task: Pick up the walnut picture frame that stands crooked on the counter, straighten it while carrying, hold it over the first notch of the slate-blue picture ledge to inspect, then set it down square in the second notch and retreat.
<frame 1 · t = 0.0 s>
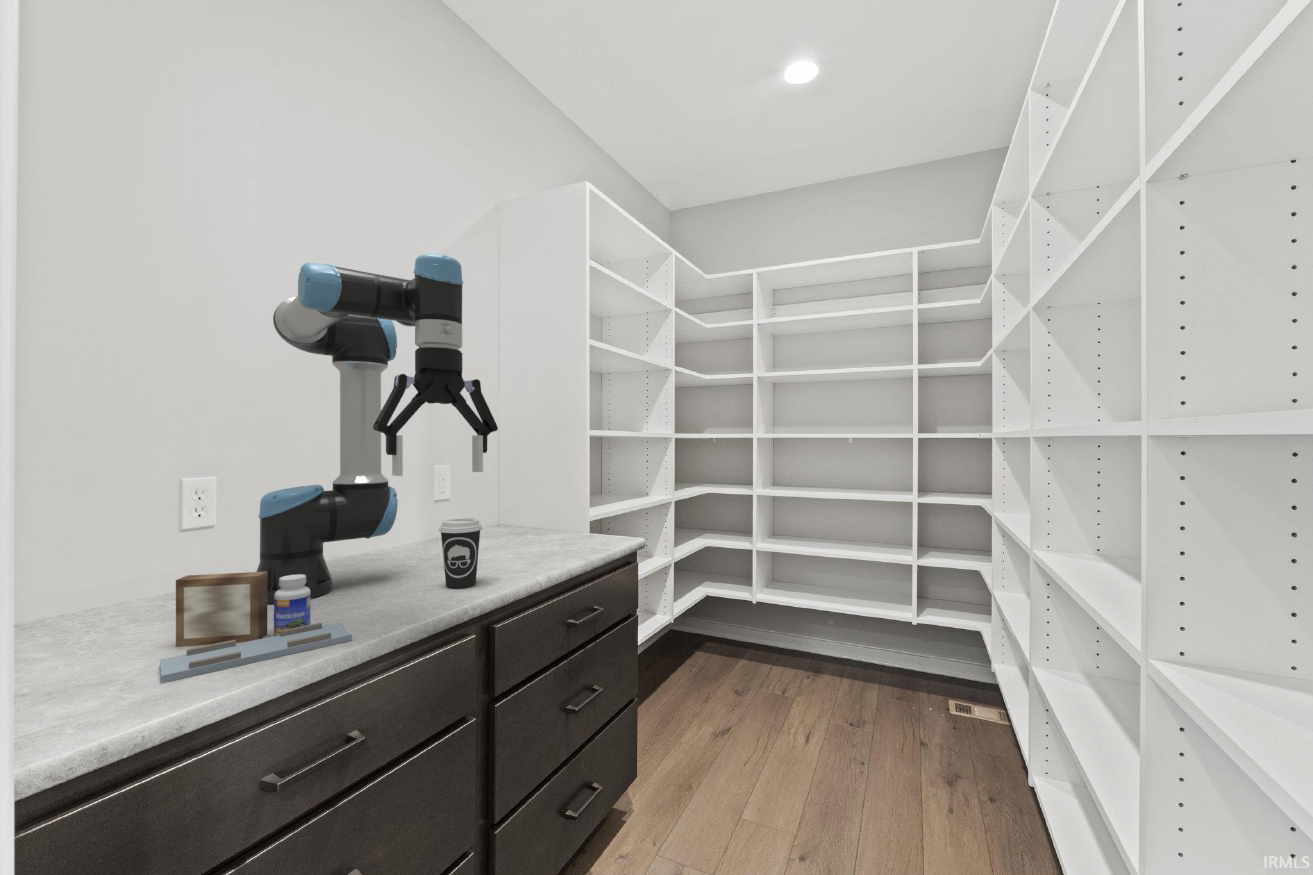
hand: (439, 473, 95), 28 cm above the countertop, fingers open, 13 cm apart
pill bottle: (292, 633, 98), on the countertop
ledge: (261, 652, 89), on the countertop
coffee cup: (461, 586, 129), on the countertop
frame: (223, 640, 94), on the countertop
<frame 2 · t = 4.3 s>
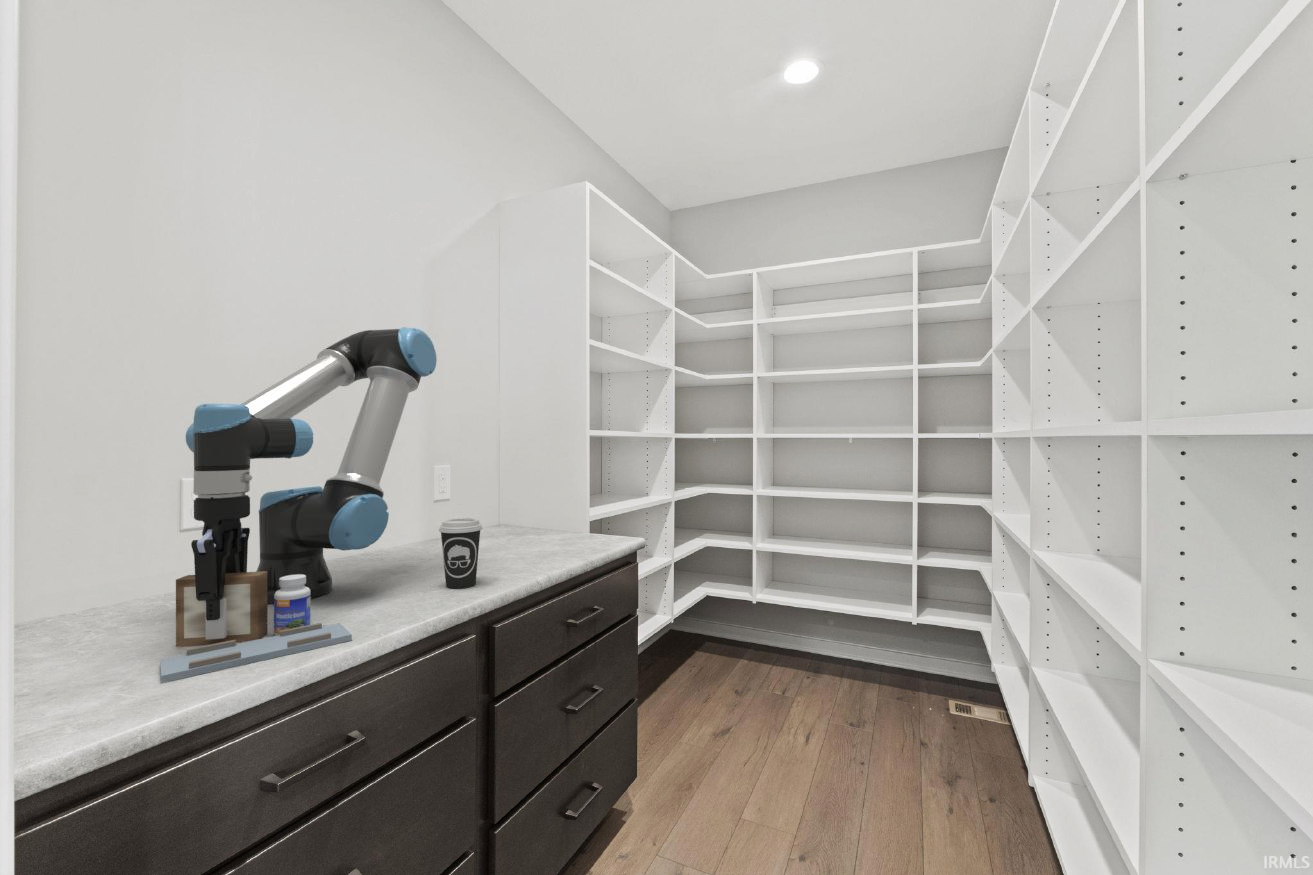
hand: (222, 633, 94), 1 cm above the countertop, fingers closed on frame, 3 cm apart
frame: (223, 640, 94), on the countertop, touching gripper
everything else where it was.
when the fingers open (4 cm above the countertop, at t = 12.6 s): frame drops 2 cm, resting on ledge.
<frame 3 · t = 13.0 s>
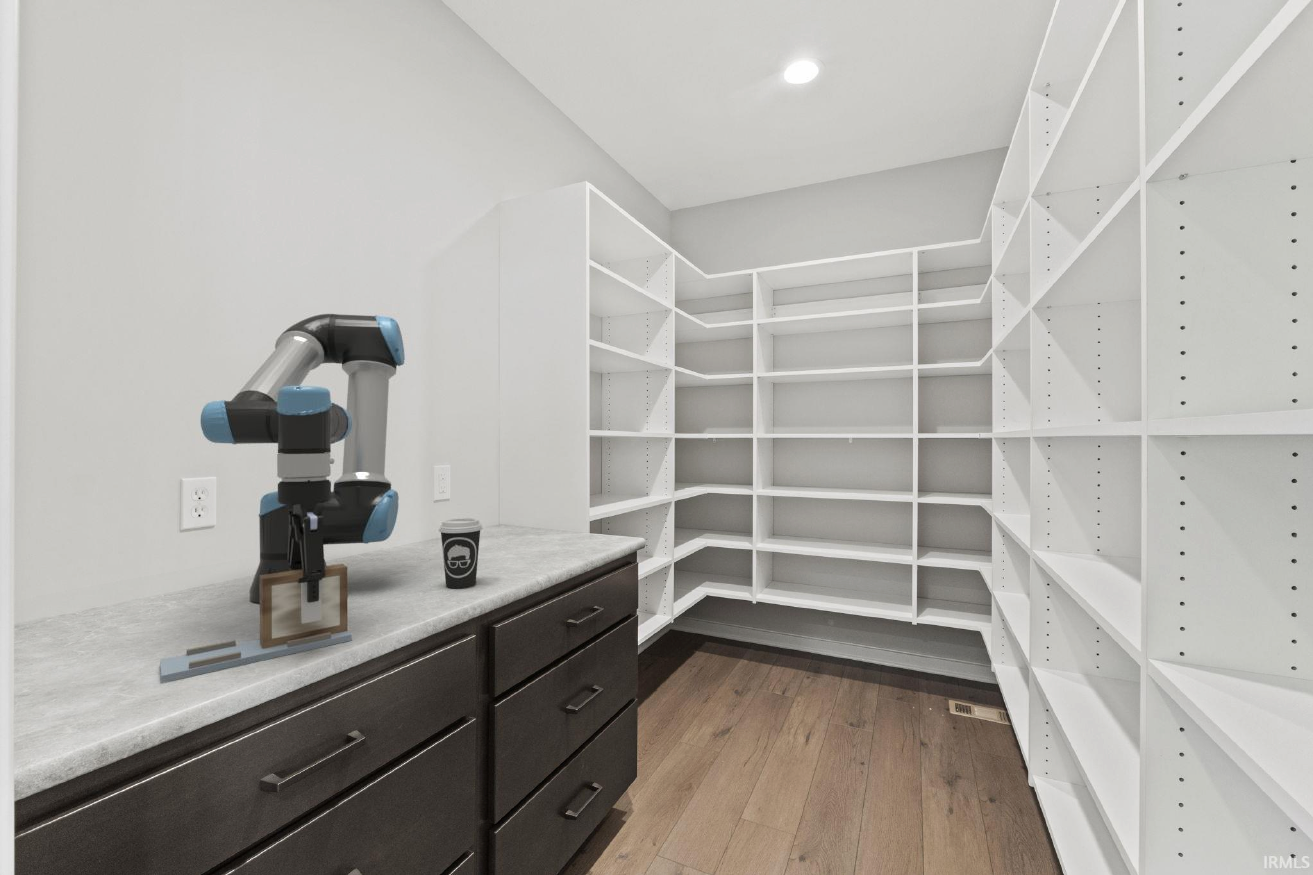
hand: (305, 614, 93), 5 cm above the countertop, fingers open, 9 cm apart
pill bottle: (292, 631, 98), on the countertop, touching gripper
frame: (304, 636, 93), point 1 cm above the countertop, touching ledge
everything else where it was.
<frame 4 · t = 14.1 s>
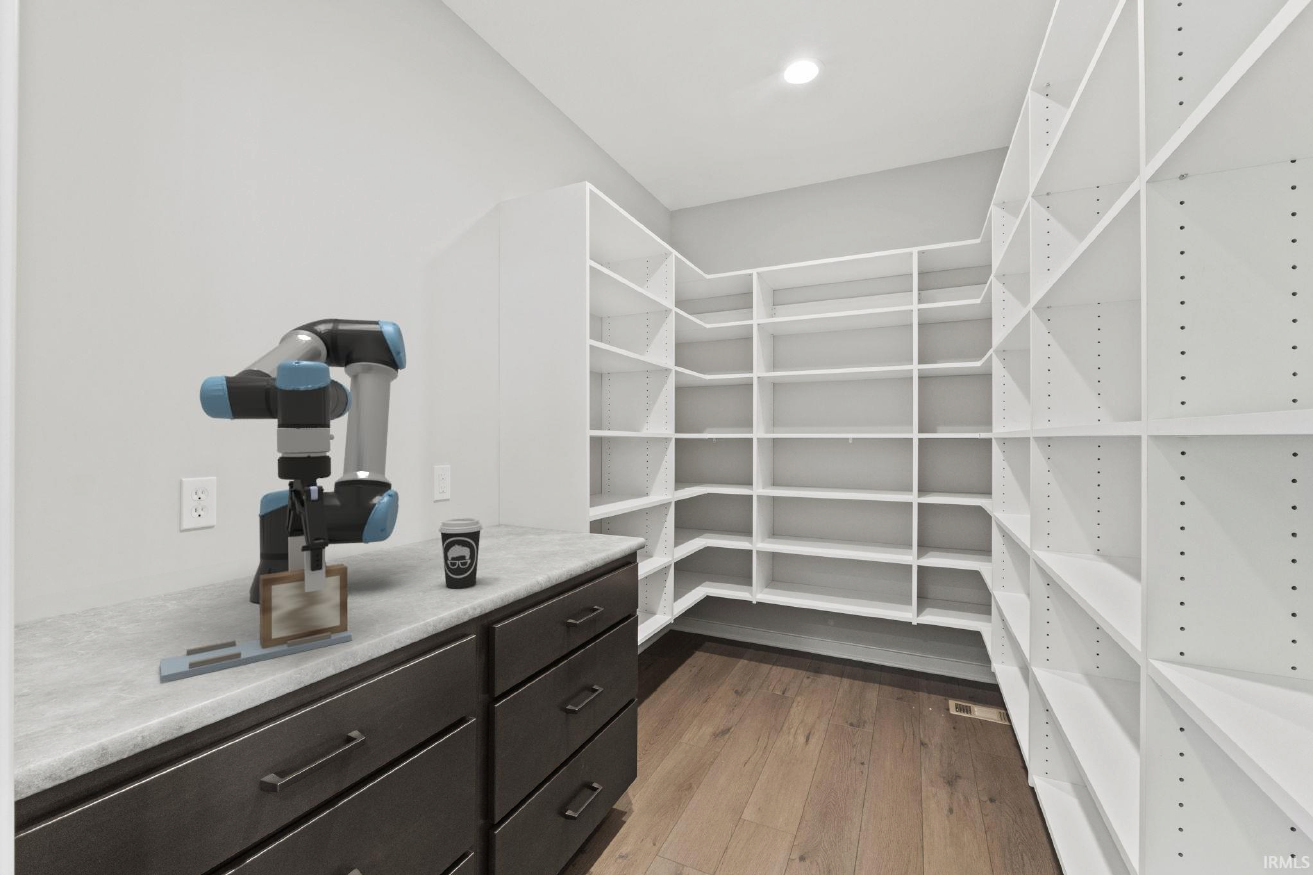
hand: (306, 581, 93), 10 cm above the countertop, fingers open, 13 cm apart
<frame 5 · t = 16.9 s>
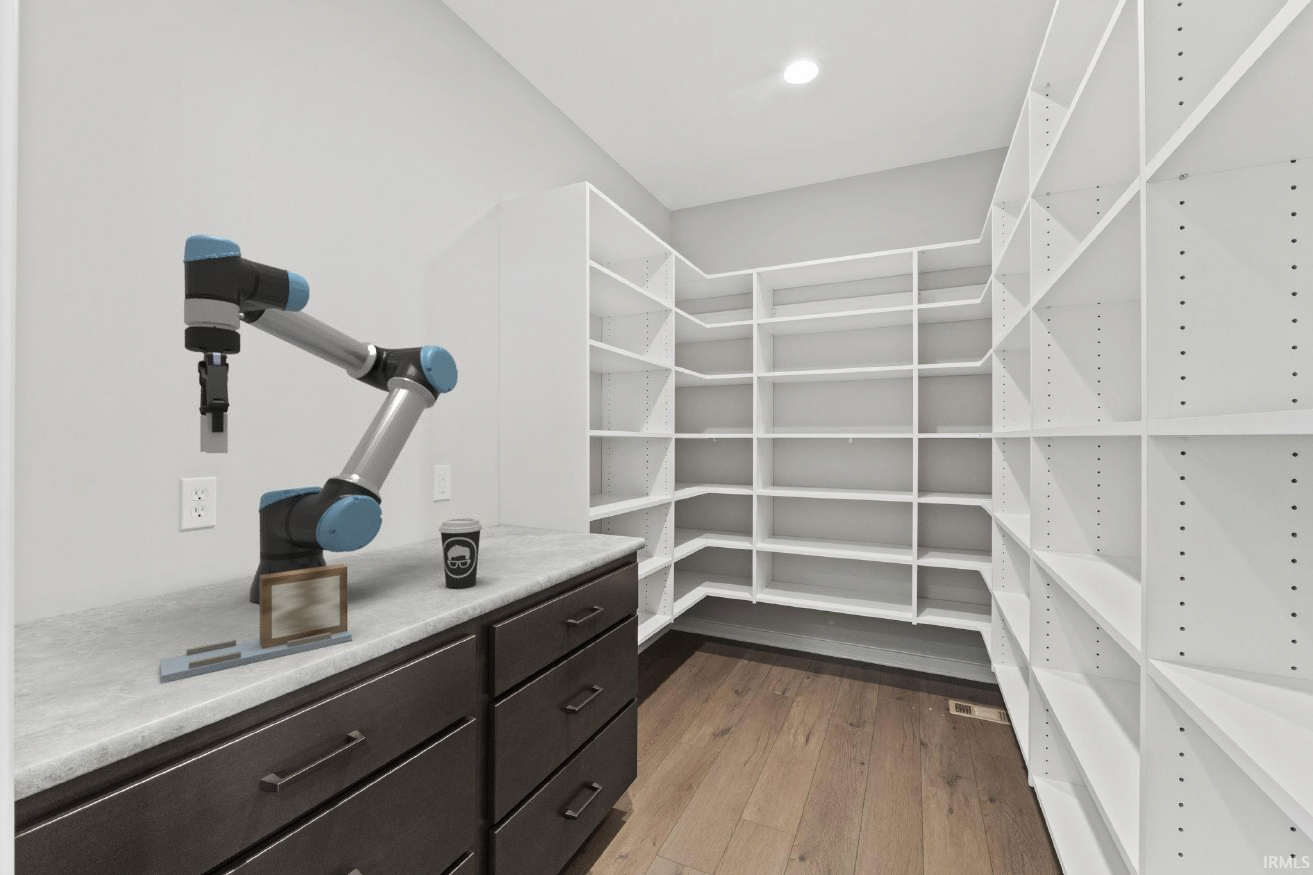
hand: (213, 452, 96), 32 cm above the countertop, fingers open, 13 cm apart
pill bottle: (293, 632, 98), on the countertop
everything else where it was.
at the end: frame 0.1 cm from the target spot on the ledge, point 1.0 cm above the ledge's base; frame tilted 0°; the gripper is holding nothing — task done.
